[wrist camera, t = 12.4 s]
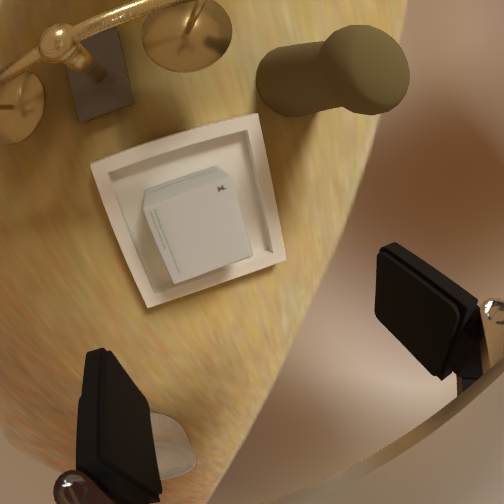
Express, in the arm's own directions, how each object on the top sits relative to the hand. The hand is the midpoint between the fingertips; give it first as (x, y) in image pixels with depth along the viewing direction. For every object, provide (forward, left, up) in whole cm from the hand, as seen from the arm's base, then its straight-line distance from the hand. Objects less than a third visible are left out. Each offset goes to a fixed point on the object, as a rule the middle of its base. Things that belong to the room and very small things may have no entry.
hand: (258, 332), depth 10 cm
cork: (-7, +10, -16) cm, 20 cm away
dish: (+1, 0, -16) cm, 16 cm away
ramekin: (+25, -15, -16) cm, 33 cm away
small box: (0, 0, -15) cm, 15 cm away
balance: (-11, -4, -16) cm, 20 cm away
